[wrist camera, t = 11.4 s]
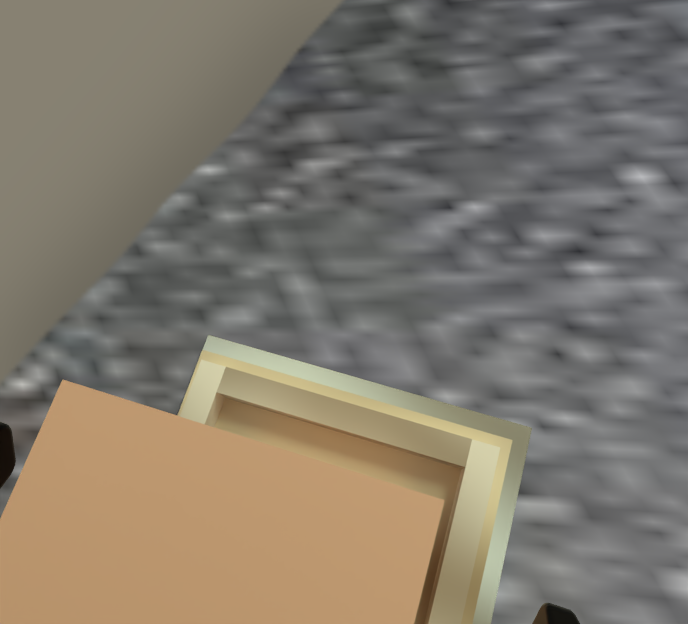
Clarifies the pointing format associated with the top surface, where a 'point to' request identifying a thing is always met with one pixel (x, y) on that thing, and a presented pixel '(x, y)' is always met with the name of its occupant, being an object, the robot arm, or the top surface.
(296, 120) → the top surface
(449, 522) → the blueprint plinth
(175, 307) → the top surface
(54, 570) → the column block
